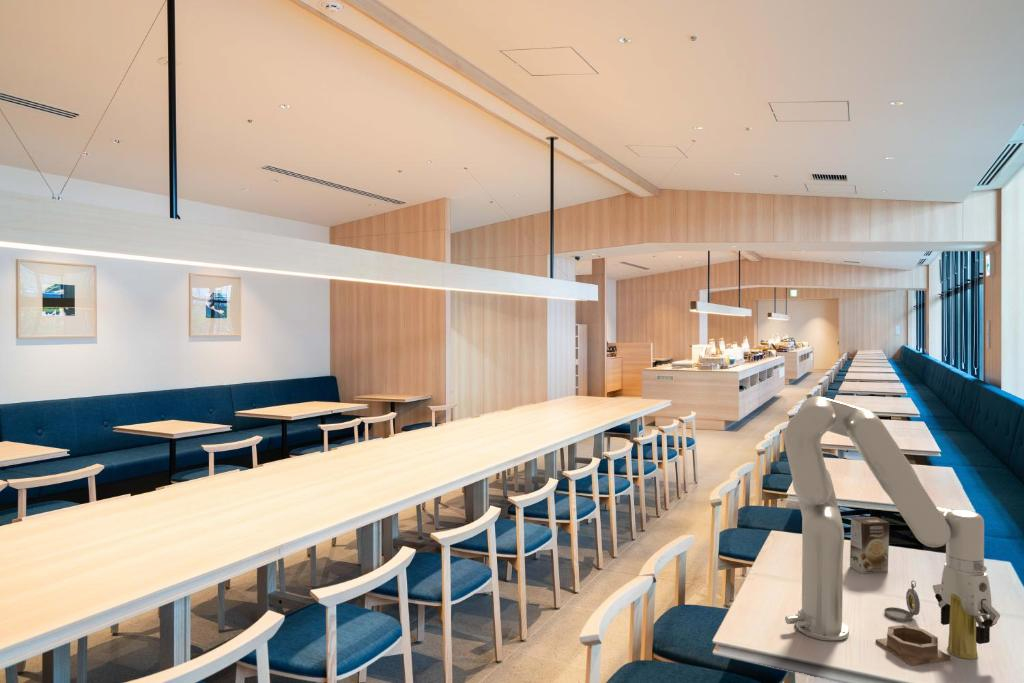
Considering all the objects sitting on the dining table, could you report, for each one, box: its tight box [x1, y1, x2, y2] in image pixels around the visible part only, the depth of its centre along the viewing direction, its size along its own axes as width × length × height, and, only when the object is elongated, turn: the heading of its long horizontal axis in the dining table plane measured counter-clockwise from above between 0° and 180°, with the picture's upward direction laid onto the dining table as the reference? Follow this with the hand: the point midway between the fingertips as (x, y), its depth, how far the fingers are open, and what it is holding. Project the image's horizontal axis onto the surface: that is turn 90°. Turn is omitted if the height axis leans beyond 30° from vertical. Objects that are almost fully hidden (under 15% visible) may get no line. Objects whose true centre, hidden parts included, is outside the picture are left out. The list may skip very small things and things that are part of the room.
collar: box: [875, 624, 951, 667], centre depth 160 cm, size 11×11×4 cm
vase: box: [946, 594, 979, 660], centre depth 159 cm, size 6×6×14 cm
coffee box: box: [849, 516, 890, 574], centre depth 210 cm, size 9×6×16 cm
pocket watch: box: [883, 580, 921, 621], centre depth 178 cm, size 8×8×10 cm
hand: (964, 633), depth 159 cm, fingers open, 9 cm apart
